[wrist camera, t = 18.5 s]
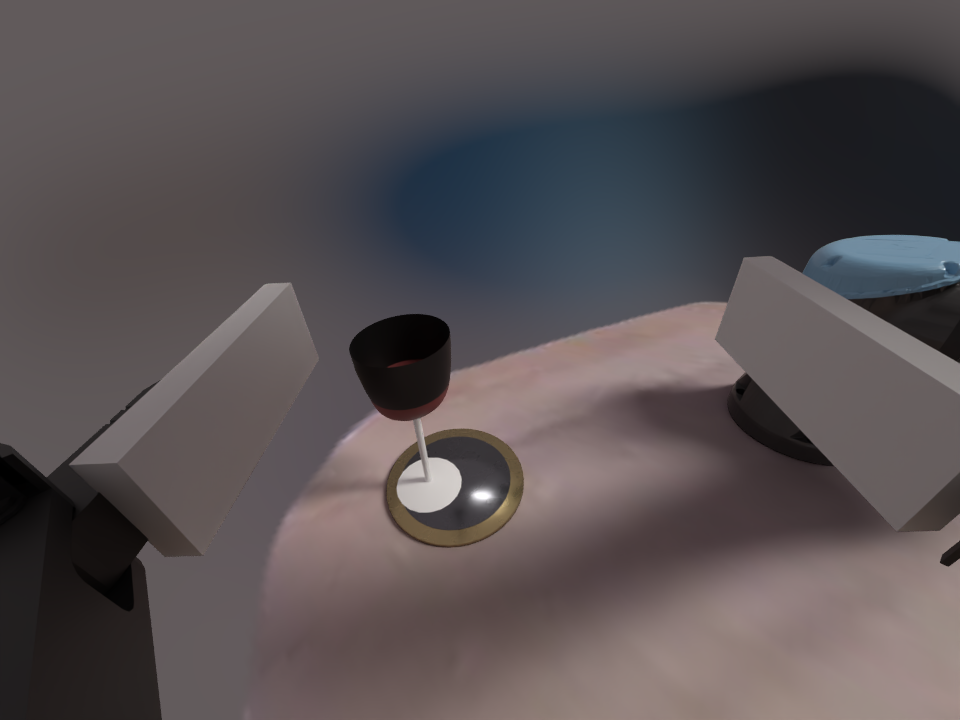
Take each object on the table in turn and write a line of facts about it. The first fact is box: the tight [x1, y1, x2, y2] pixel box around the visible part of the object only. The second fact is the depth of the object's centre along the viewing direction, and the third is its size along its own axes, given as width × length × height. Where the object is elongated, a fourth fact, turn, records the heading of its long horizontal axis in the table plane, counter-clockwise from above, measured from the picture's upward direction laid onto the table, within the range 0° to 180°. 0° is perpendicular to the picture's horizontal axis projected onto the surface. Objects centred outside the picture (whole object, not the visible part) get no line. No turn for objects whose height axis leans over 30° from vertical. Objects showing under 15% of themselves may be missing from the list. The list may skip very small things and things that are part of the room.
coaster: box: [387, 429, 524, 547], centre depth 45 cm, size 16×16×1 cm
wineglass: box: [349, 314, 462, 513], centre depth 38 cm, size 8×9×20 cm
